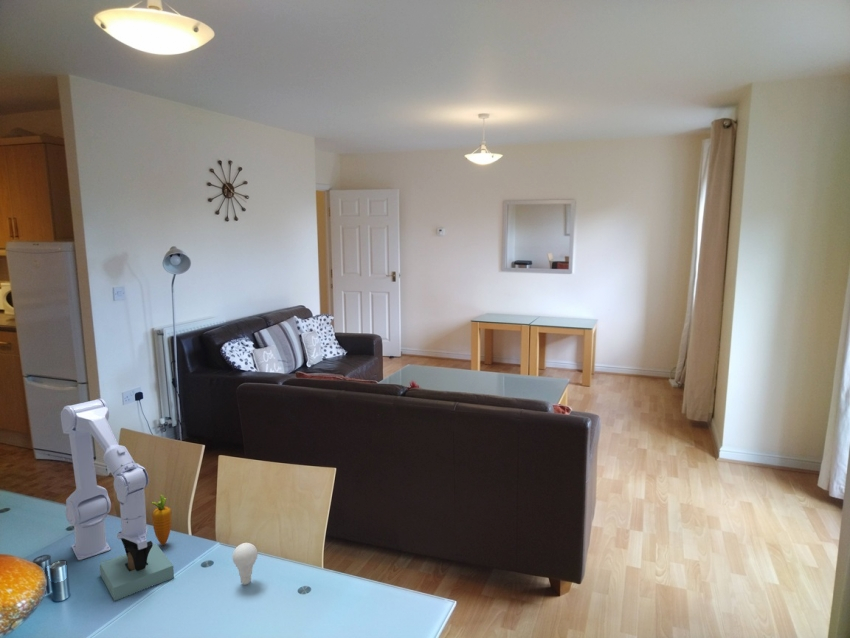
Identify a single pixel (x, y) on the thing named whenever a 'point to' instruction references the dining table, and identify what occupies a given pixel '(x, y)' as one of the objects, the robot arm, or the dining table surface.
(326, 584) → the dining table surface
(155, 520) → the carrot
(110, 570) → the socket block
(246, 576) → the lightbulb
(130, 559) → the peg
